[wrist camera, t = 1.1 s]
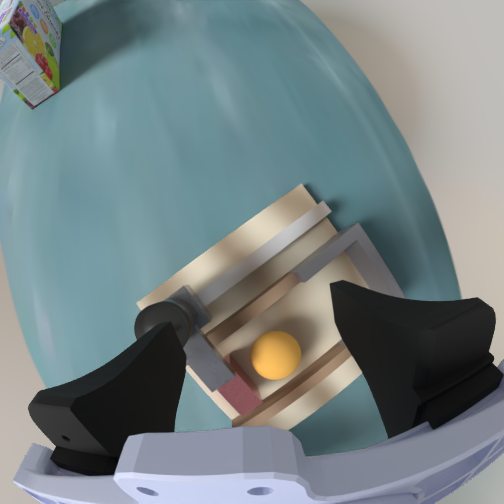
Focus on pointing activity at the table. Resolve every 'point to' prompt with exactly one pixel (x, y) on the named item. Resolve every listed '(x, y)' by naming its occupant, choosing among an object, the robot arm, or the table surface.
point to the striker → (201, 348)
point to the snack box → (30, 49)
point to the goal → (360, 255)
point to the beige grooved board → (273, 307)
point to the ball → (275, 355)
